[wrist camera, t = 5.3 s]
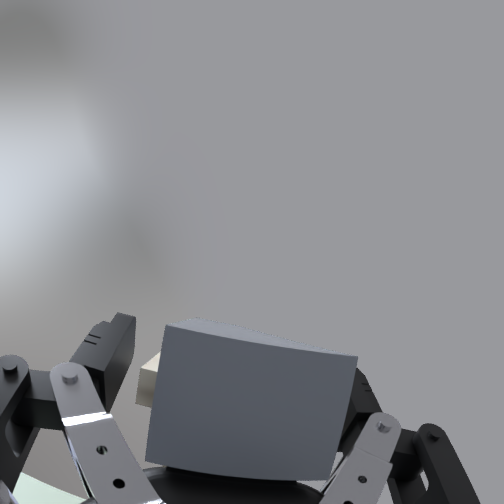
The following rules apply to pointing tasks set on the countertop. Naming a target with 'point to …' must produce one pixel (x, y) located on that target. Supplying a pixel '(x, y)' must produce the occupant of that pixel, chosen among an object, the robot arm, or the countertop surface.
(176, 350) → the slate block
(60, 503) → the trapdoor
